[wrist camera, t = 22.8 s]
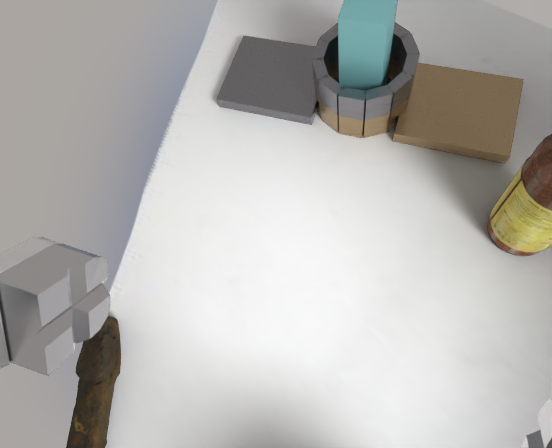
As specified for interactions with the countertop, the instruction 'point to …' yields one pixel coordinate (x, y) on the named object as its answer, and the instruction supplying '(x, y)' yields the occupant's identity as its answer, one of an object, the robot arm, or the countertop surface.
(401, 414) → the countertop surface
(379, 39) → the teal square block
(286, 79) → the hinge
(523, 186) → the sauce bottle
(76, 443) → the hand tool
